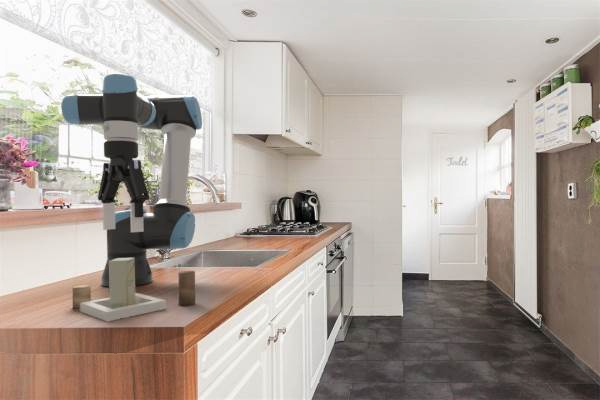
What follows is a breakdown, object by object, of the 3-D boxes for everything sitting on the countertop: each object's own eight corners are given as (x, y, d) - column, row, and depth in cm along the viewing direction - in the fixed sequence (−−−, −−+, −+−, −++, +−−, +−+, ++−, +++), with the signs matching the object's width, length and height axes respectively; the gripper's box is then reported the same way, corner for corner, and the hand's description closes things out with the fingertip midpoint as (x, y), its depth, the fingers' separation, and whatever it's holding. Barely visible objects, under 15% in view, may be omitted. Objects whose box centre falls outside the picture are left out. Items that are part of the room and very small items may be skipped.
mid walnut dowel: (175, 304, 108) (175, 272, 108) (189, 301, 111) (188, 270, 111) (184, 306, 105) (184, 273, 105) (198, 303, 108) (198, 271, 108)
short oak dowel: (69, 307, 106) (69, 287, 106) (86, 304, 109) (86, 284, 109) (76, 310, 104) (76, 289, 104) (93, 306, 107) (93, 286, 107)
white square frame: (80, 311, 102) (80, 302, 102) (136, 300, 113) (136, 292, 113) (107, 321, 93) (107, 312, 93) (165, 308, 104) (165, 300, 104)
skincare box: (128, 313, 100) (127, 260, 100) (108, 313, 100) (107, 260, 100) (136, 306, 107) (135, 256, 107) (117, 307, 106) (116, 257, 106)
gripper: (82, 144, 108) (84, 229, 109) (132, 134, 92) (134, 234, 92) (112, 146, 114) (113, 227, 114) (163, 137, 98) (165, 231, 98)
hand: (122, 230), depth 103 cm, fingers open, 13 cm apart
